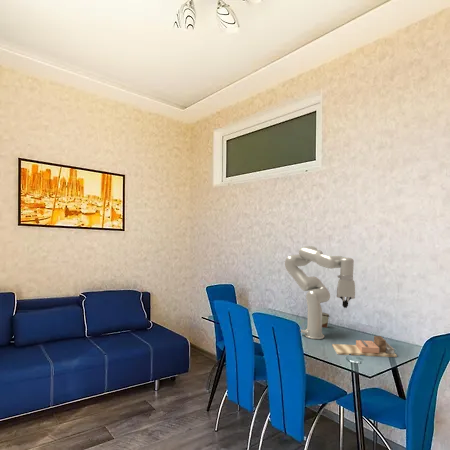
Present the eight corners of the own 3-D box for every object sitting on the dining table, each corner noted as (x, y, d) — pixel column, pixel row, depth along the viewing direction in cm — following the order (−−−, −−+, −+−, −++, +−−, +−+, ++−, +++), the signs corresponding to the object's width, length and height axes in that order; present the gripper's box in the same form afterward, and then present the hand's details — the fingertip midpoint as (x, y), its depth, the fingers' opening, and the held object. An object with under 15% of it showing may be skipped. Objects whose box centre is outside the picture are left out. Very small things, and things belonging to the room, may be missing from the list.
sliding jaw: (361, 352, 198) (362, 345, 198) (355, 345, 210) (356, 338, 210) (379, 353, 198) (379, 345, 197) (372, 345, 209) (372, 339, 209)
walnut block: (378, 352, 200) (378, 340, 200) (373, 347, 208) (374, 335, 208) (385, 352, 199) (385, 340, 199) (380, 347, 207) (380, 336, 207)
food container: (327, 325, 256) (327, 312, 256) (329, 328, 250) (329, 314, 250) (310, 324, 257) (311, 311, 257) (312, 327, 251) (312, 313, 251)
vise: (337, 354, 199) (337, 347, 199) (332, 345, 213) (332, 339, 213) (396, 357, 196) (396, 349, 196) (387, 348, 210) (387, 341, 210)
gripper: (334, 278, 208) (333, 308, 209) (360, 279, 206) (359, 309, 207) (332, 276, 216) (331, 305, 216) (357, 277, 213) (356, 306, 214)
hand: (345, 307), depth 211 cm, fingers closed
